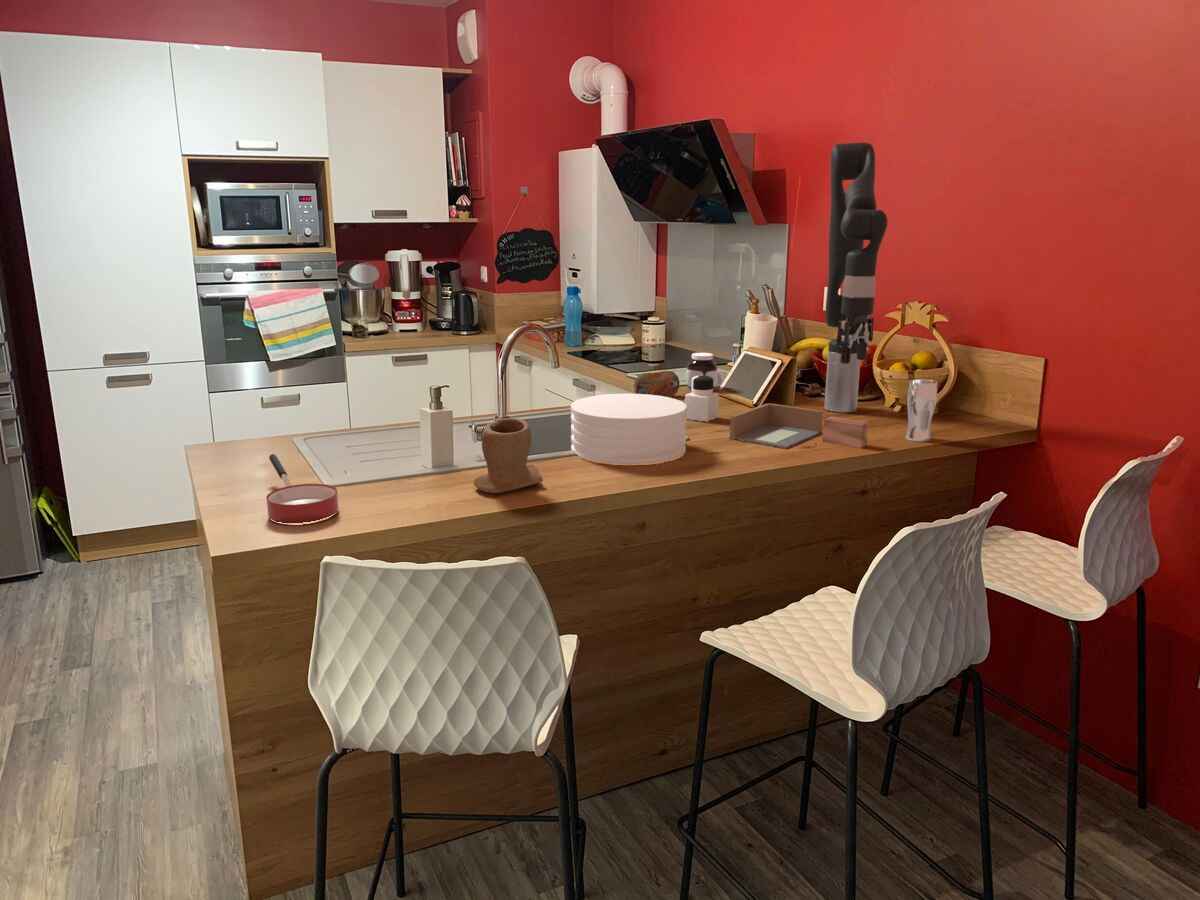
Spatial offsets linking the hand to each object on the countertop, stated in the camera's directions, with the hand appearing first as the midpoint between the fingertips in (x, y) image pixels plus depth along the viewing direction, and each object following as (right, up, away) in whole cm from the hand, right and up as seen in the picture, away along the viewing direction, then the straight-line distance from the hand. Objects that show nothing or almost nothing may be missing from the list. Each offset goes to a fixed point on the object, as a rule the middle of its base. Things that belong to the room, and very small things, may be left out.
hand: (853, 361), depth 221 cm
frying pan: (-126, -33, -39) cm, 136 cm away
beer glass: (+19, -19, +10) cm, 29 cm away
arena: (-17, -18, +13) cm, 28 cm away
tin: (-45, -6, +59) cm, 75 cm away
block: (-1, -20, +6) cm, 21 cm away
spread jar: (-28, -2, +73) cm, 78 cm away
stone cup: (-81, -30, -30) cm, 92 cm away
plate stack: (-55, -22, 0) cm, 60 cm away
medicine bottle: (-34, -13, +32) cm, 48 cm away
